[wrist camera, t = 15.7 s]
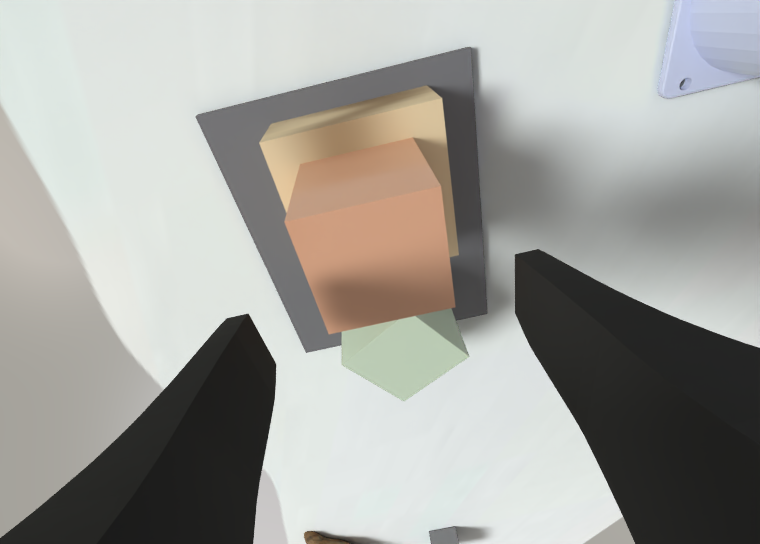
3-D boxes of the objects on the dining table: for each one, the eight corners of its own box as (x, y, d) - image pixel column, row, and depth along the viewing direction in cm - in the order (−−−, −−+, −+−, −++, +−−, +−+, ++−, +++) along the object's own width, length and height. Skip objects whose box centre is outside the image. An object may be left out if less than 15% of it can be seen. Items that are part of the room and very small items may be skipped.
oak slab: (426, 85, 16) (442, 98, 14) (444, 225, 20) (458, 255, 18) (271, 123, 17) (259, 142, 14) (318, 254, 21) (315, 287, 18)
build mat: (468, 46, 16) (470, 47, 16) (485, 309, 24) (487, 313, 24) (198, 114, 17) (195, 116, 16) (306, 348, 25) (306, 352, 25)
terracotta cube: (412, 137, 15) (441, 186, 10) (427, 236, 17) (455, 307, 13) (299, 164, 15) (284, 222, 11) (331, 258, 17) (328, 334, 13)
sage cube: (446, 295, 23) (469, 356, 19) (393, 336, 25) (403, 401, 20) (395, 253, 21) (409, 311, 17) (341, 301, 23) (341, 364, 18)
